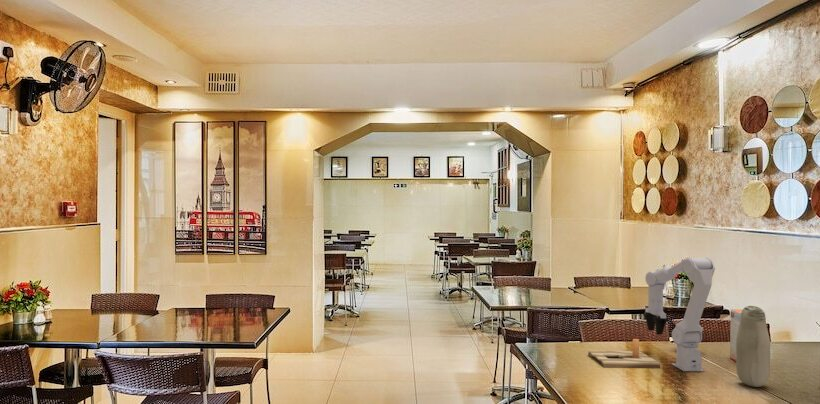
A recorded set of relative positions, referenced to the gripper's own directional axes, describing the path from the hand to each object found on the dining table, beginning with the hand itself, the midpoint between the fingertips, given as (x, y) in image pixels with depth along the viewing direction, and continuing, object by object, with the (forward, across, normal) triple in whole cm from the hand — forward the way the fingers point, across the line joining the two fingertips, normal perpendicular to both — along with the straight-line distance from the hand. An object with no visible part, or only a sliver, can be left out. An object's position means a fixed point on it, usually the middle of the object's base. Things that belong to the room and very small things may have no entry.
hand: (655, 332), depth 235 cm
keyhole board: (+10, +10, -18) cm, 23 cm away
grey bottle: (+10, +40, +16) cm, 44 cm away
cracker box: (+10, +10, +32) cm, 35 cm away
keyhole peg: (+10, +10, -13) cm, 19 cm away
